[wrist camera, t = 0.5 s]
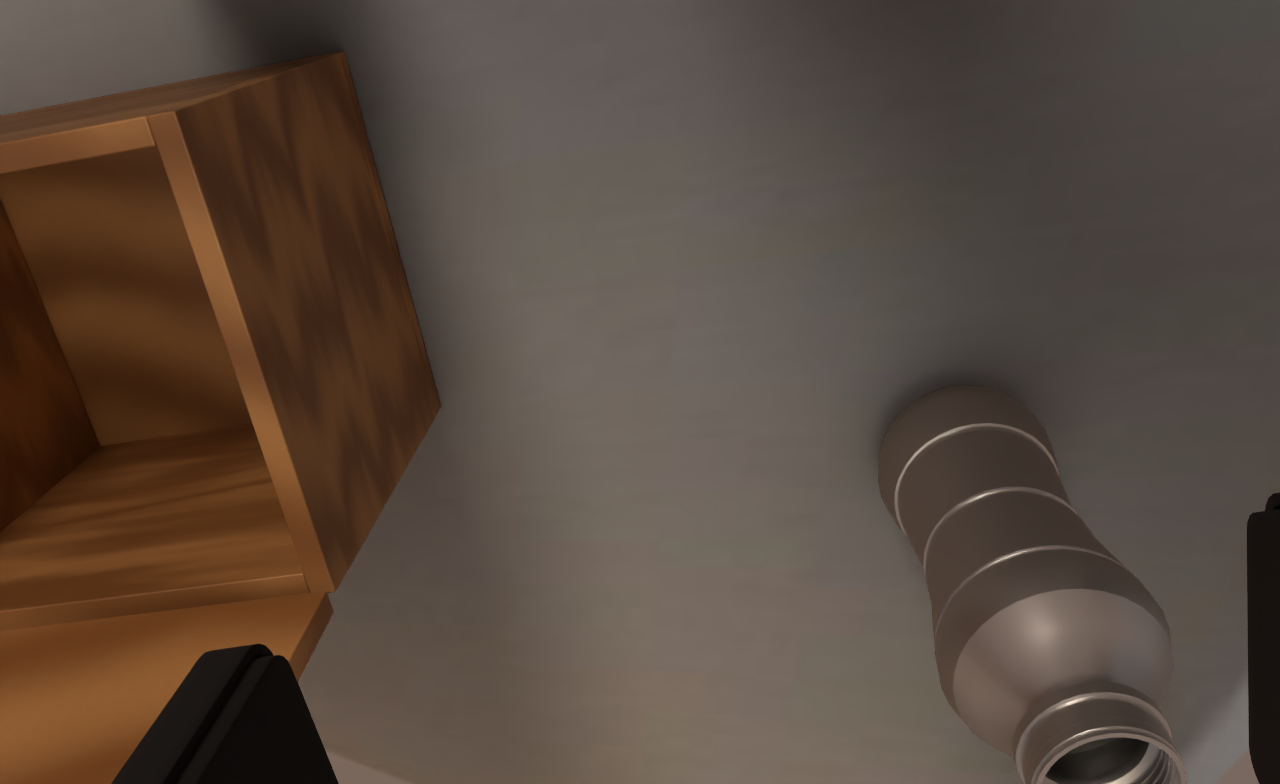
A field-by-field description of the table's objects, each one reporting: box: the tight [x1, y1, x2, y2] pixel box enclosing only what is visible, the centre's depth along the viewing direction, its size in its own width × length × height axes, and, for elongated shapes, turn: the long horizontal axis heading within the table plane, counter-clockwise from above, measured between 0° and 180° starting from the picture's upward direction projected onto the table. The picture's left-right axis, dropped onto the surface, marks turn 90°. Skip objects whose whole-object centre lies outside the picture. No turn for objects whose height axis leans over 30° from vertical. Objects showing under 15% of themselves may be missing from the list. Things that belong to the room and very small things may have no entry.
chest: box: [0, 51, 441, 631], centre depth 39 cm, size 15×16×14 cm
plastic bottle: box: [878, 385, 1187, 784], centre depth 37 cm, size 6×7×20 cm
